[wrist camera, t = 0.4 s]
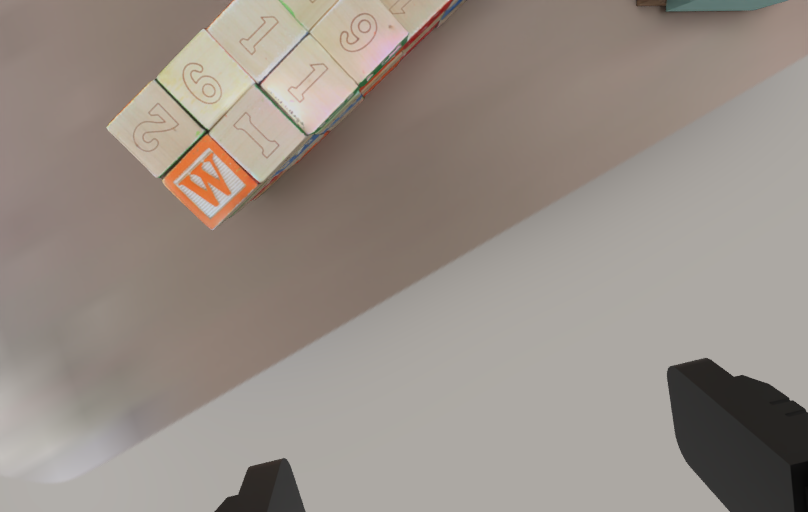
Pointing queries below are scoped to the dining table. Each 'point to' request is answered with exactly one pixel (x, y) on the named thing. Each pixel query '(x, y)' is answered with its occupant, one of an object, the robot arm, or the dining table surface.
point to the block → (718, 5)
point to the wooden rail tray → (651, 2)
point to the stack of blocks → (264, 92)
